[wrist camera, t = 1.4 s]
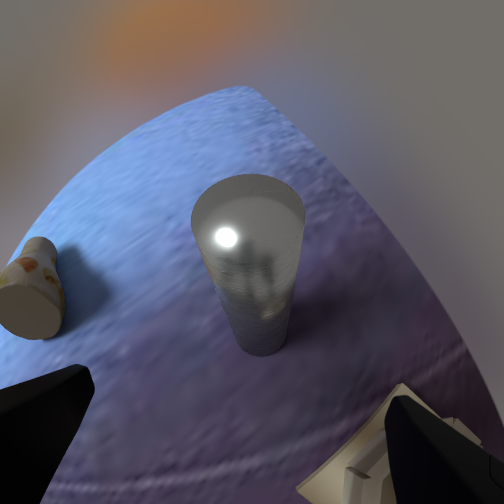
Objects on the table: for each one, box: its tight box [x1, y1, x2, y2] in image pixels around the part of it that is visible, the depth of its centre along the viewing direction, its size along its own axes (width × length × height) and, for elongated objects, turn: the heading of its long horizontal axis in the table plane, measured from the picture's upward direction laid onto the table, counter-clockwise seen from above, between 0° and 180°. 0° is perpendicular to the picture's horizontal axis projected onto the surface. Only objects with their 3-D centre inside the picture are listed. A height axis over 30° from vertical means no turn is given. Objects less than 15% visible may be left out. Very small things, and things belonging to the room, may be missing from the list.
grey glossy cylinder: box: [191, 174, 305, 357], centre depth 15 cm, size 4×4×13 cm
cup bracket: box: [296, 383, 483, 504], centre depth 11 cm, size 10×10×5 cm
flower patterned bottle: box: [0, 237, 65, 340], centre depth 20 cm, size 8×10×10 cm
